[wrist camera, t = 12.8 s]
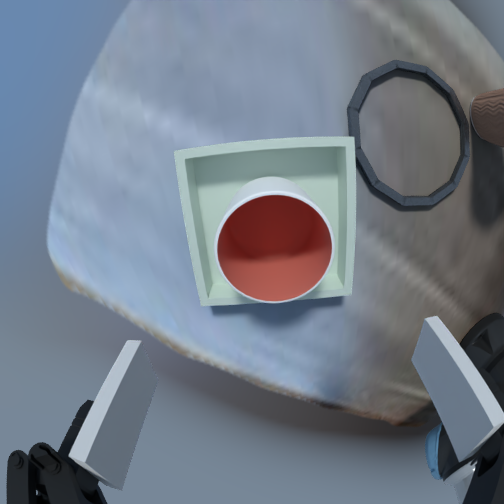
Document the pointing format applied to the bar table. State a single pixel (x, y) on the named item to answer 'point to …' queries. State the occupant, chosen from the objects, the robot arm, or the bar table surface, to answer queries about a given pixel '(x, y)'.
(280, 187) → the cup
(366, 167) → the socket ring
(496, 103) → the coffee cup
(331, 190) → the bin
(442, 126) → the bar table surface
